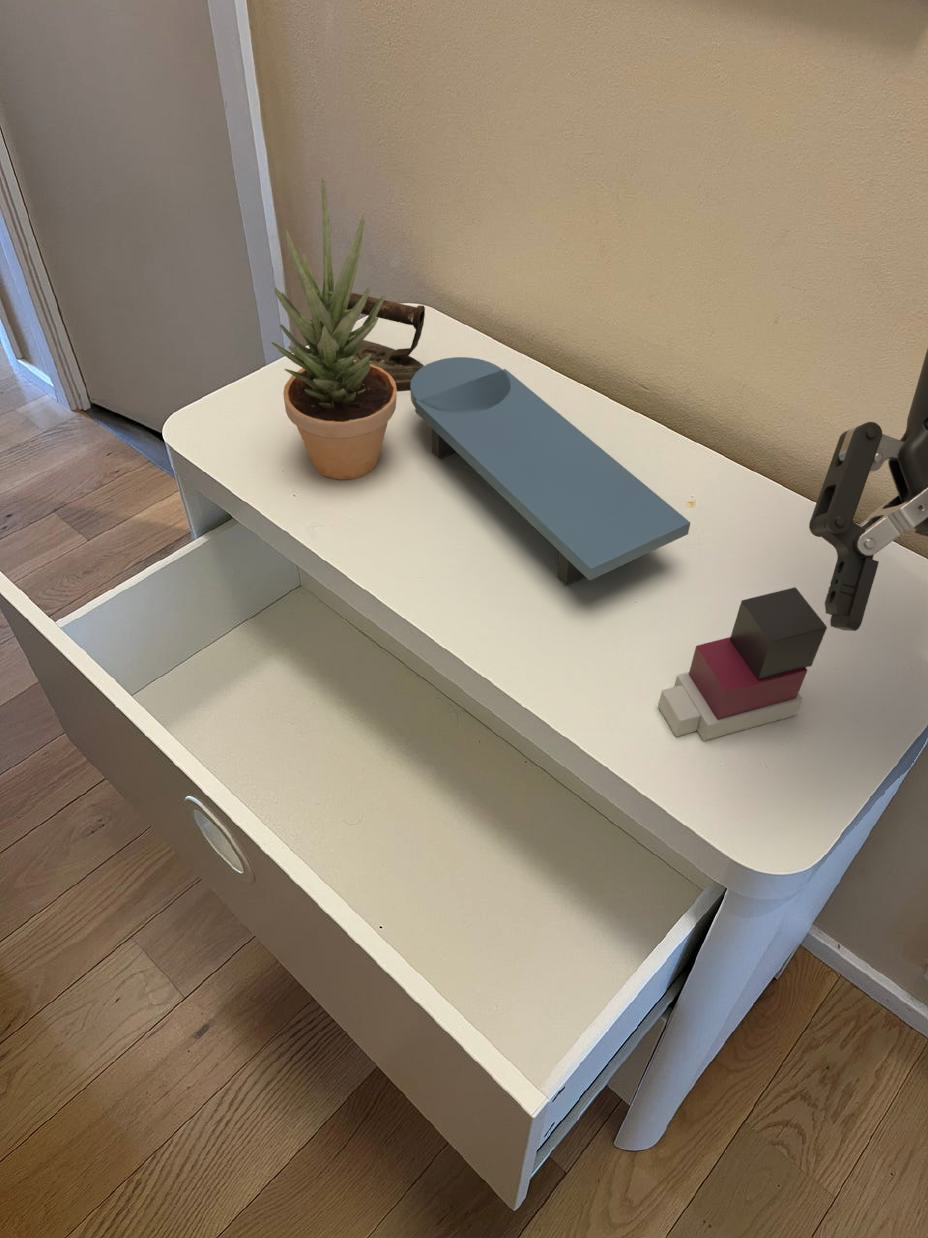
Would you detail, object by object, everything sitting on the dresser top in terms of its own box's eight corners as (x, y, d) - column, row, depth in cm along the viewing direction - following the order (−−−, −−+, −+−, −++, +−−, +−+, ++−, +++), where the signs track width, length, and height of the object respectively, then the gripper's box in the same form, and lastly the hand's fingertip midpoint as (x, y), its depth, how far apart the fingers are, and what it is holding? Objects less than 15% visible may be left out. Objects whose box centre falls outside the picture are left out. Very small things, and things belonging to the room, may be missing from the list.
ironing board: (680, 570, 77) (690, 522, 73) (584, 616, 73) (591, 569, 69) (477, 391, 94) (478, 345, 90) (392, 422, 90) (389, 376, 86)
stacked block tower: (762, 667, 70) (792, 582, 63) (796, 715, 67) (831, 631, 60) (651, 696, 68) (671, 612, 62) (681, 747, 65) (705, 664, 59)
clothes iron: (338, 349, 100) (355, 259, 93) (438, 391, 99) (463, 303, 92) (310, 379, 95) (326, 286, 88) (416, 424, 94) (440, 333, 87)
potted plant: (418, 472, 85) (406, 190, 67) (318, 505, 82) (277, 219, 64) (371, 413, 91) (348, 140, 73) (276, 442, 88) (228, 164, 70)
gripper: (914, 291, 47) (821, 614, 46) (1188, 376, 47) (1097, 695, 47) (845, 335, 54) (766, 614, 54) (1083, 408, 55) (1004, 683, 55)
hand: (920, 651), depth 51 cm, fingers open, 8 cm apart
